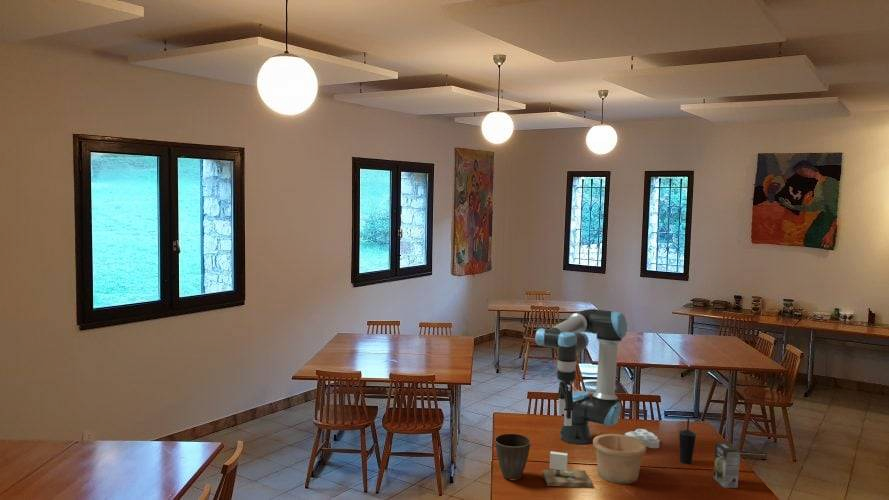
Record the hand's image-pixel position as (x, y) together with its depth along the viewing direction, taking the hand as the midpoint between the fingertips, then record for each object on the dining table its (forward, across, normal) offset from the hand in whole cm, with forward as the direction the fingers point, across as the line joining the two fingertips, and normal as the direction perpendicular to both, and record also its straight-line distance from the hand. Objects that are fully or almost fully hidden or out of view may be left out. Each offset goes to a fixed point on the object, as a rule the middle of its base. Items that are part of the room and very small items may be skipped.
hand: (564, 419), depth 272 cm
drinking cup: (+26, +19, -60) cm, 68 cm away
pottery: (+26, +3, -24) cm, 35 cm away
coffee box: (+26, -2, -68) cm, 73 cm away
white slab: (+23, -3, +1) cm, 23 cm away
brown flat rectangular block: (+25, -3, -1) cm, 25 cm away
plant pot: (+25, 0, +22) cm, 33 cm away
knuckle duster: (+27, +44, -48) cm, 70 cm away
